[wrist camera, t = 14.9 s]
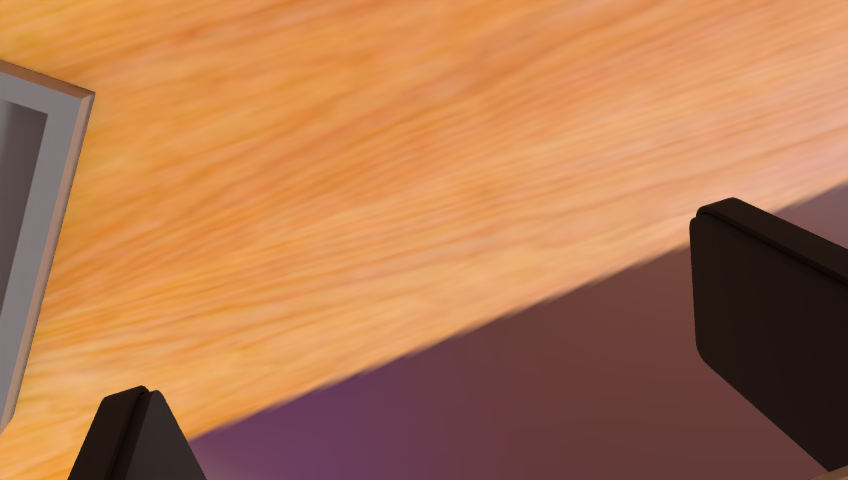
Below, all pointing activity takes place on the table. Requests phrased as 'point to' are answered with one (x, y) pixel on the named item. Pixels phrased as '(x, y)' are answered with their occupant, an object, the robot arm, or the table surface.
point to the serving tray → (32, 204)
